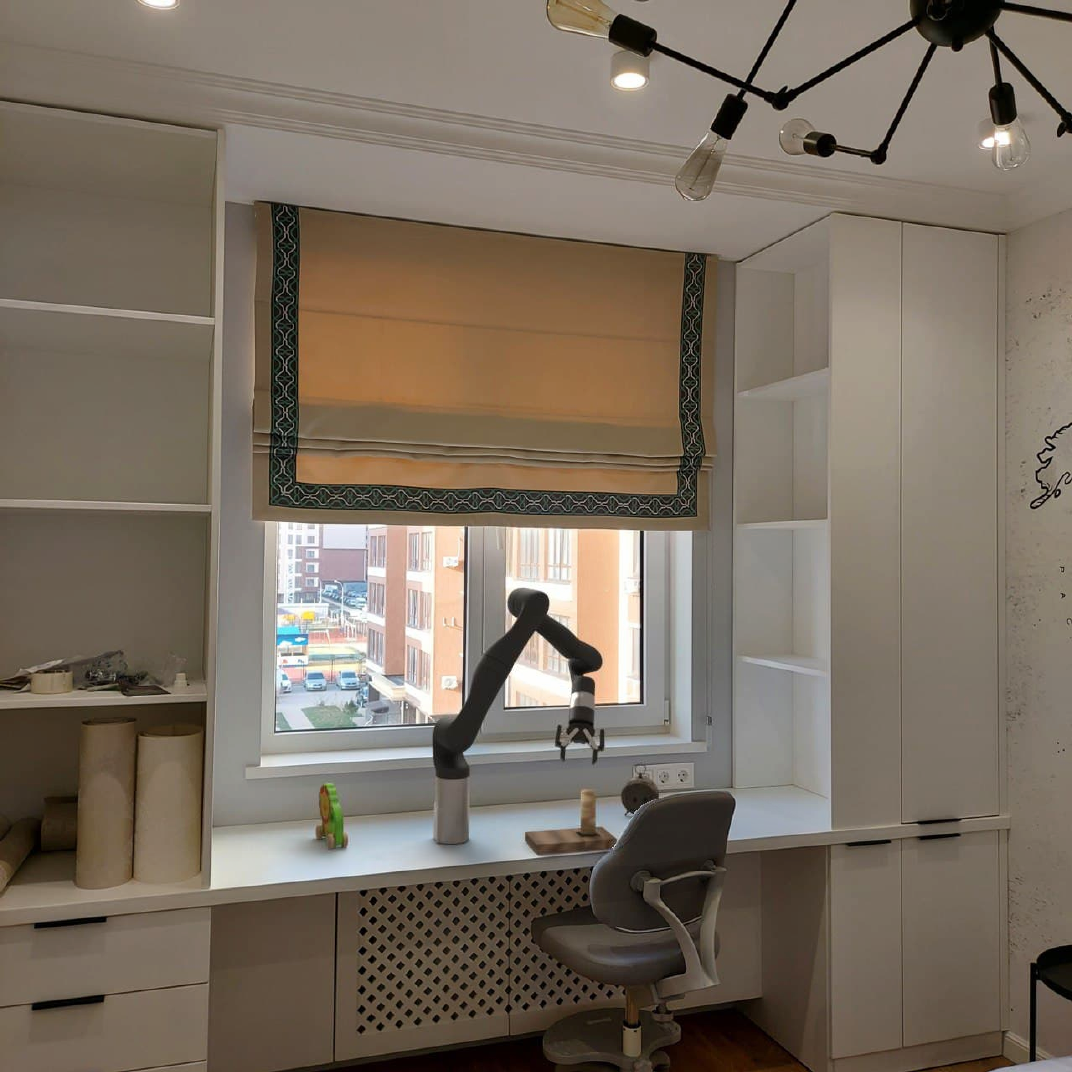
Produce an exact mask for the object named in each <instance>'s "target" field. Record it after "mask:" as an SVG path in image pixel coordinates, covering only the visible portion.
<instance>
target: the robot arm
mask: <svg viewBox="0 0 1072 1072" xmlns="http://www.w3.org/2000/svg"><path fill="white" fill-rule="evenodd" d="M549 609H550V598H549V596H548V594H547V593H546V592H544V591H542V590H538V589H534V588H528V587H517V588H514V589H513V590H512V591H511V592H510V593H509V595H508V598H507V610H508V612H509V613H510V614H511V615H512V616H513V617H514V618H515V619H516V620H515V621H514V623H513V625H512V626H511V627H509V629H508V630H507V631H506V632H505V633H504V634H503V635H501V636H500V637H499V638H497V639H496V640H495V641H493V642H492V643H491V644H490V645H489V646H488V647H487V648H486V649H485V650H484V652H483V653H482V655H481V656H480V658H479V660H478V661H477V664H476V665H475V667H474V669H473V672H472V675H471V680H470V687H469V692H468V696H467V698H466V700H465V702H464V704H463V706H462V708H461V709H460V711H459V712H458V713H457V715H456V716H455V715H451V714H450V715H443V716H442V717H440V718H438V719H437V721H436V722H435V724H434V726H433V729H432V762H433V767H434V769H435V795H434V796H435V801H434V802H433V832H432V833H433V839H434V840H435V842H436V844H444V845H457V844H458V845H459V844H464V843H466V842H468V841H469V840H470V777H471V776H470V765H469V764H468V762H467V761H466V758H465V756H464V755H465V754H464V753H465V752H467V751H468V750H469V749H470V748H471V747H472V745H473V744H474V743H475V741H476V739H477V736H478V734H479V732H480V729H481V727H482V725H483V723H484V720H485V718H486V715H487V713H488V712H489V711H490V708H491V707H492V705H493V702H494V701H495V700H496V697H497V696H498V694H499V692H500V690H501V689H502V687H503V685H504V684H505V682H506V681H507V678H508V676H509V675H510V673H511V672H512V670H513V668H514V665H515V664H516V663H517V661H518V659H519V657H520V656H521V655H522V653H523V650H524V649H525V647H526V645H528V642H529V641H530V639H531V638H533V635H534V634H535V632H536V633H537V634H539V636H541V637H542V638H544V639H545V640H546V641H547V643H549V644H550V645H551V646H552V647H553V648H554V649H555V650H556V651H557V652H558V653H559V654H560V655H561V656H562V657H564V658H565V659H567V660H568V661H567V665H568V672H569V676H570V681H571V696H570V700H569V707H568V722H567V726H562V724H558V725H557V728H556V734H555V741H554V746H555V748H559V749H560V751H559V752H560V754H559V759H560V760H561V761H562V762H565V761H566V748H567V747H568V746H570V745H571V744H572V743H574V744H581V745H585V744H586V745H588V747H589V748H591V750H592V753H591V754H592V756H591V758H592V759H591V765H595V764H596V763H597V762H598V753H600V752H604V751H605V750H604V749H605V729H603V728H601V729H598V730H597V729H595V727H594V726H595V712H596V703H595V701H596V699H595V694H596V682H595V680H594V678H592V677H590V676H586V675H585V674H590V673H594V672H598V671H599V670H600V669H601V668H602V667H603V664H604V661H603V660H604V659H603V657H602V655H601V653H600V651H599V650H598V648H595V647H594V646H593V645H591V644H589V643H587V642H585V641H583V640H580V638H578V637H577V636H576V635H575V634H574V633H573V632H572V630H570V628H568V627H567V626H565V625H564V624H562V623H561V622H559V621H558V620H556V619H555V618H553V617H552V616H550V615H549V614H548V612H549ZM565 732H566V735H567V736H566V738H565V739H564V740H563V741H561V735H563V734H564V733H565ZM595 735H596V738H597V739H599V745H597V743H596V741H595V739H594V738H593V737H594V736H595ZM463 842H464V843H463Z"/></svg>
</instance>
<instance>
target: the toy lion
mask: <svg viewBox="0 0 1072 1072" xmlns="http://www.w3.org/2000/svg"><path fill="white" fill-rule="evenodd" d="M319 789H320V790H319V791H318V808H319V814H320V817H321V824H317V825H316V827H315V838H316V839H317V840H318V839H319V840H323V839H324V838H325V840H326V847H327V849H328V850H333V849H334V848H335V847H339V846H340V847H341V846H342V847H341V848H347V846H348V845H349V837H348V833H347V832H344V829H345V828H344V815H343V810H342V807H341V805H340V802H339V796H338V793H337V792H338V791H337V788H335V784H334V783H332V782H329V783H323V784H322V785H321V786H320V788H319Z"/></svg>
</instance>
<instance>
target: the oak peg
mask: <svg viewBox="0 0 1072 1072" xmlns="http://www.w3.org/2000/svg"><path fill="white" fill-rule="evenodd" d="M596 804H597V791H596V790H595V789H591V788H588V789H587V788H586V789H585V788H584V789H581V791H580V828H581V831H580V834H581V838H585V837H595V835H596V827H597V826H596V823H597V820H596V818H597V817H596V814H597V805H596Z"/></svg>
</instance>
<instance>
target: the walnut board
mask: <svg viewBox="0 0 1072 1072" xmlns="http://www.w3.org/2000/svg"><path fill="white" fill-rule="evenodd" d="M580 831H581V827H576V828H561V829H559V828H558V829H548V830H547V829H545V830H533V831H532V830H531V831H525V832H524V842H525V841H526V842H527V843H526V842H525V843H526V844H527V845H528V846H529V848H530V849H531V850H532V851H533V852H534V853H535V854H536V855H538V856H539V855H548V854H549V855H550V854H561V853H572V852H573V853H575V852H587V851H601V850H612V849H611V848H612V847H614V845H615V844H616V842H617V843H618V839H617V837H616V836H614V835H613V834H611V832H609V831H608V830H607V829H605V828H604V827H603V826H596V835H595V837H585V838H581V834H580Z"/></svg>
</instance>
